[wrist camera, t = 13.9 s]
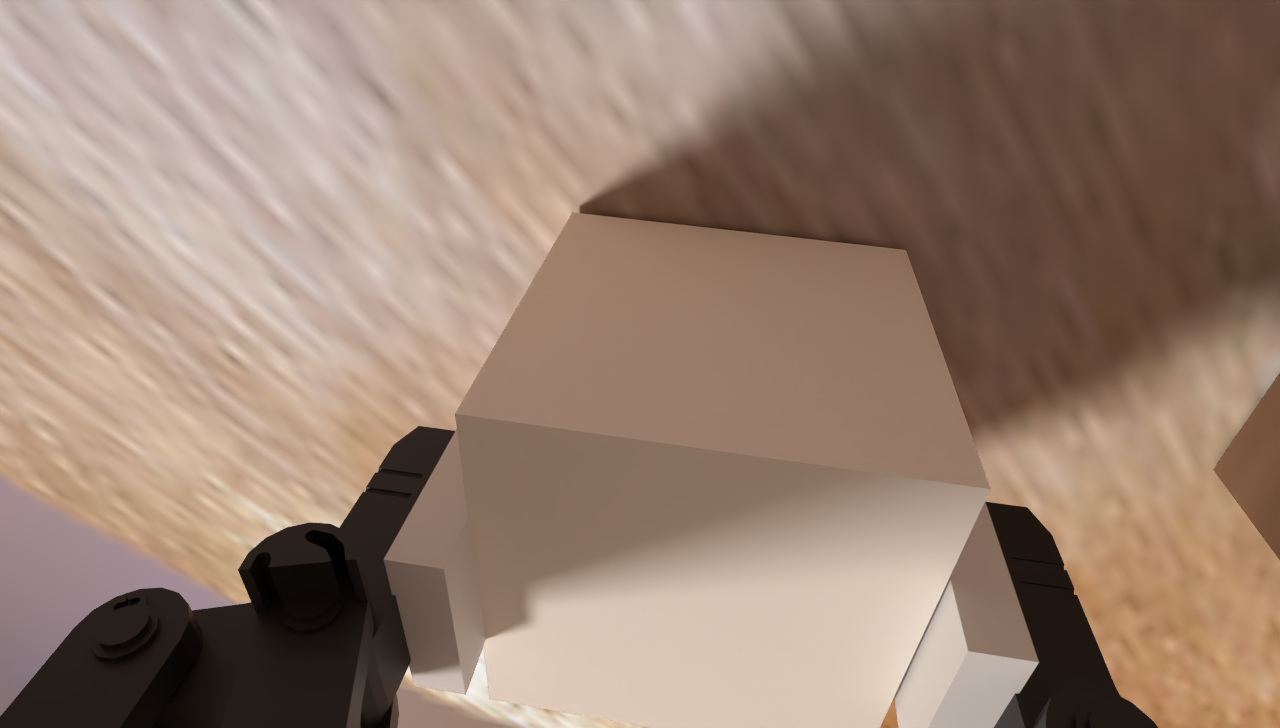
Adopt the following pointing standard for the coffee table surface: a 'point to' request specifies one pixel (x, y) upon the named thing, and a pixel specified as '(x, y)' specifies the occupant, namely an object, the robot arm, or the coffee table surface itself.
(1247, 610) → the coffee table surface
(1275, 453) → the walnut base brick
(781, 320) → the cream brick
